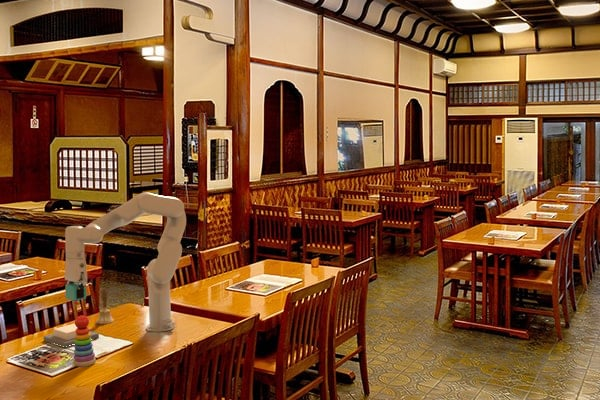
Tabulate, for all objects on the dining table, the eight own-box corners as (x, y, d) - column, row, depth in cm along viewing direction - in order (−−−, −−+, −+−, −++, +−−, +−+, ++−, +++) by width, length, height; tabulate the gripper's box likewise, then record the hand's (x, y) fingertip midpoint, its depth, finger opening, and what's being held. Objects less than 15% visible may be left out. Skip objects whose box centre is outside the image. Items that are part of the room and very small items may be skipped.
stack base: (98, 338, 263) (98, 326, 263) (65, 348, 251) (64, 336, 250) (77, 331, 273) (76, 320, 273) (43, 340, 260) (43, 329, 260)
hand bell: (117, 319, 292) (115, 286, 291) (109, 324, 284) (108, 290, 283) (100, 318, 293) (99, 286, 292) (92, 323, 285) (91, 290, 284)
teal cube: (86, 298, 263) (86, 284, 262) (73, 300, 258) (73, 286, 257) (78, 296, 266) (77, 282, 266) (65, 298, 262) (65, 284, 261)
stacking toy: (76, 360, 236) (74, 312, 234) (97, 359, 237) (96, 312, 235) (70, 367, 228) (68, 318, 226) (92, 366, 229) (90, 317, 227)
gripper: (94, 256, 258) (95, 298, 260) (71, 251, 269) (72, 292, 270) (78, 258, 252) (79, 301, 254) (55, 254, 263) (56, 295, 264)
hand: (75, 296), depth 262 cm, fingers closed on teal cube, 6 cm apart
